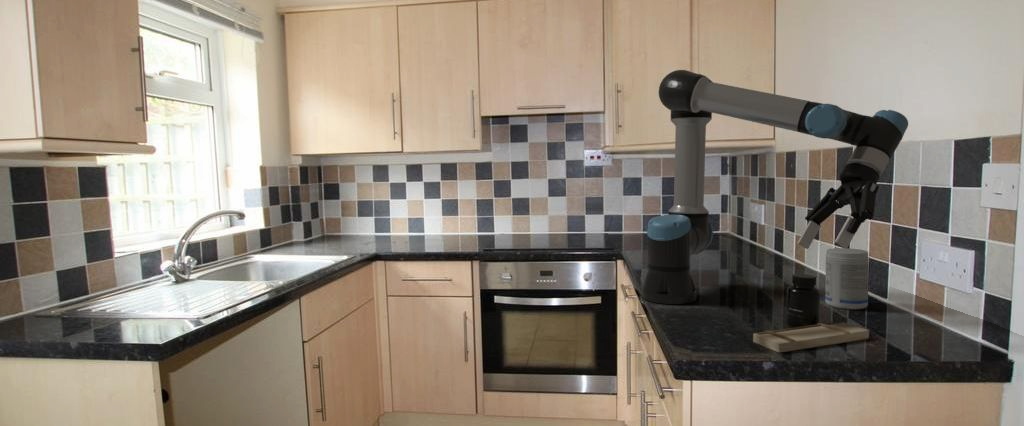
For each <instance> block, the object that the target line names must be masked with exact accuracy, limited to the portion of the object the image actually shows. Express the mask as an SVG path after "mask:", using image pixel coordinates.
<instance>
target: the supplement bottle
mask: <svg viewBox="0 0 1024 426" xmlns="http://www.w3.org/2000/svg"><path fill="white" fill-rule="evenodd" d="M791 277H792V280H791V283H792V285H789V286H788V287H787V289H786V304H785V324H786V326H788V327H789V328H795V327H802V326H809V325H816V324H817V323H820V311H821V309H820V308H821V291H820V289H818V288H817V287H816V286H817V276H816V275H814V274H813V275H812V274H807V273H795V274H792V276H791Z"/></svg>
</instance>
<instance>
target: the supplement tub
mask: <svg viewBox="0 0 1024 426" xmlns="http://www.w3.org/2000/svg"><path fill="white" fill-rule="evenodd" d="M825 252H826V254H825V288H824V289H825V295H824V297H825V298H824V299H825V300H824V301H825V303H826V304H827V305H828V306H831V307H834V308H836V309H837V308H838V309H847V310H862V309H865V308H867V307H868V306H869V276H870V275H869V270H870V269H869V267H870V265H869V264H870V263H869V262H870V260H869V251H867V250H865V249H858V248H848V247H847V248H843V247H842V248H840V247H839V248H837V247H836V248H835V247H834V248H827V249H826V251H825Z"/></svg>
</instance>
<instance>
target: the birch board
mask: <svg viewBox="0 0 1024 426" xmlns="http://www.w3.org/2000/svg"><path fill="white" fill-rule="evenodd" d="M752 335H753V337H752V342H753V343H755V344H757V345H760V346H763V347H765V348H767V349H770V350H771V351H774V352H776V353H785V352H791V351H797V350H799V351H800V350H803V349H804V350H805V349H811V348H817V347H822V346H829V345H837V344H843V343H849V342H850V343H851V342H856V341H861V340H869V339H870V330H869V329H867V328H862V327H859V326H856V325H853V324H850V323H846V322H843V321H839V320H838V321H831V322H826V323H825V322H824V323H822V322H819V323H817V324H816V325H809V326H802V327H795V328H791V327H789V328H782V329H774V330H769V329H768V330H764V331H759V332H755V333H753V334H752Z"/></svg>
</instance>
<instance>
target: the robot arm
mask: <svg viewBox="0 0 1024 426" xmlns="http://www.w3.org/2000/svg"><path fill="white" fill-rule="evenodd" d="M658 97H659V101H660V102H661V104H662V105H663V106H664V107H665V108H666V109H668V110H670V122H671V123H672V124H673V125H674V126H675V138H674V139H675V141H674V143H675V145H674V180H673V181H674V184H673V187H674V188H673V205H672V207H670V209H668V213H667V214H663V215H658V216H657V215H656V216H654V217H652V218H651V219H649V220H648V223H647V229H646V235H647V236H646V238H647V272H646V273H645V277H644V281H643V284H642V286H641V295H640V296H641V298H642V299H643V300H646V301H647V302H652V303H656V304H666V305H683V304H690V303H694V302H696V301H697V290H696V286H695V283H694V280H693V276H692V275H691V256H693V255H697V254H701V253H702V252H703V251H705V250H706V249H707V248H708V247H709V246H710V245H711V243H712V240H713V238H714V229H713V226H712V223H710V221H709V219H710V218H709V216H710V214H709V210H708V209H707V208H706V207H705V205H704V202H705V201H704V199H705V198H704V196H705V171H706V169H705V168H706V167H705V165H706V136H707V135H706V134H707V133H706V132H707V125H708V124H709V123H710V122H711V121H712V116H713V115H712V114H716V115H721V116H725V117H730V118H734V119H738V120H743V121H746V122H747V121H748V122H752V123H757V124H760V125H766V126H771V127H775V128H779V129H783V130H787V131H792V132H796V133H797V132H798V133H801V134H805V135H809V136H814V137H816V138H820V139H824V140H825V139H829V140H833V141H838V142H841V143H844V144H848V145H851V146H855V147H854V149H853V151H852V152H851V155H850V156H849V158H848V160H847V162H846V165H844V168H843V169H842V170H841V172H840V174H839V181H840V183H841V185H840V186H839V187H838V188H837V189H835V188H834V187H830V188H829V189H828V190H827V192H826V194H825V195H824V196H823V197H822V198H821V200H820V201H819V202H818V203H817V204H816V205H815V206H814V207H813V209H811V210H810V211H809V213H808V214H807V215H806V216H805V217H804V220H806V222H807V221H808V223H807V225H806V227H805V229H804V230H803V232H802V234H801V235H800V236H799V239H798V241H797V242H796V243H797V244H798V245H800V246H801V247H803V248H804V249H806V250H809V248H810V246H811V245H812V243H813V241H814V240H815V238H816V235H817V234H818V232H819V230H820V229H821V227H822V225H821V224H822V223H823V222H825V221H826V220H827V219H828V218H829V217H830V216H831V215H833V214H834V213H835V212H836V211H837V210H839V209H842V208H844V207H845V206H850V207H849V208H850V211H851V213H850V214H848V216H849V217H847V219H846V221H845V222H844V224H843V226H842V228H841V229H840V231H839V233H838V235H837V237H836V239H834V243H835V244H837V245H838V246H841V247H842V248H848V247H849V245H850V244H851V242H852V240H853V238H854V237H855V234H856V233H857V232H858V230H859V228H860V226H861V225H862V224H863V223H865V222H866V220H868V221H871V220H872V219H873V218H874V215H875V213H874V212H875V206H876V197H877V193H878V191H879V188H880V187H879V186H878V185H877V184H878V182H879V180H880V176H882V174H883V172H884V171H885V170H886V167H887V166H888V163H889V162H890V160H891V159H892V157H893V156H894V153H895V152H896V150H897V148H898V147H899V145H900V143H901V141H902V140H903V138H904V136H905V133H906V131H907V129H908V127H909V120H908V118H907V117H906V116H905V115H904V114H902V113H901V112H899V111H897V110H892V109H888V110H886V109H881V110H879V111H877V112H876V113H874V115H872V116H871V115H865V114H860V113H856V112H853V111H850V110H846V109H844V108H841V107H839V105H835V104H832V103H823V102H817V101H810V100H806V99H801V98H796V97H790V96H786V95H780V94H775V93H770V92H765V91H759V90H754V89H748V88H744V87H738V86H733V85H729V84H724V83H718V82H714V81H712V80H711V79H710V78H709V77H707V76H706V75H704V74H701V73H696V72H692V71H690V70H687V69H677V70H674V71H671V72H669V73H668V74H666V75H665V76H664V77H663V79H662V80H661V81H660V83H659V87H658Z"/></svg>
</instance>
